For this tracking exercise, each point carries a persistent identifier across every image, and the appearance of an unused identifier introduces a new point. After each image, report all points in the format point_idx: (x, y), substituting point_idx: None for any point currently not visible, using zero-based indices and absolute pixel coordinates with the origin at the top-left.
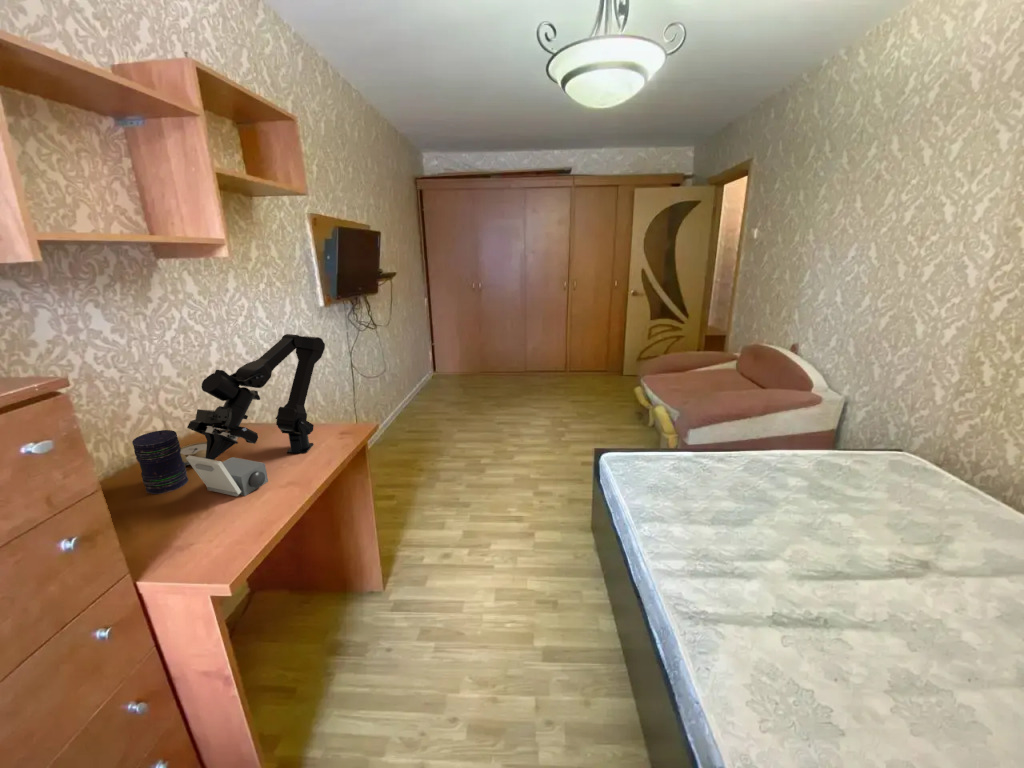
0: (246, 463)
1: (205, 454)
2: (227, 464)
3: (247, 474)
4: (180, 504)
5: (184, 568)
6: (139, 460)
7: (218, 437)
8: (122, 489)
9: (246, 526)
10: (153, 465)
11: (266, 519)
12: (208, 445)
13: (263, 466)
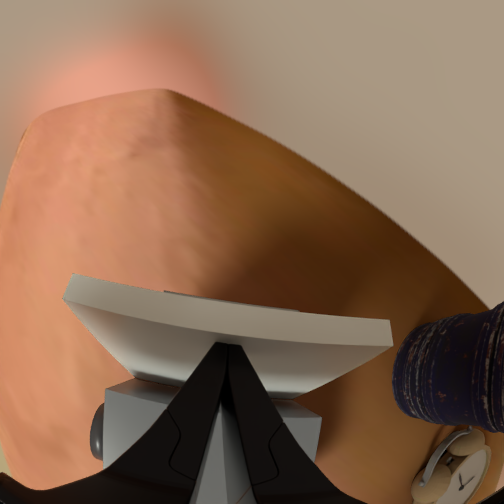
0: None
1: (428, 492)
2: None
3: (105, 419)
4: (314, 299)
5: (108, 111)
6: None
7: (65, 496)
8: None
9: (47, 229)
10: (481, 319)
11: (19, 263)
12: (272, 444)
13: None
